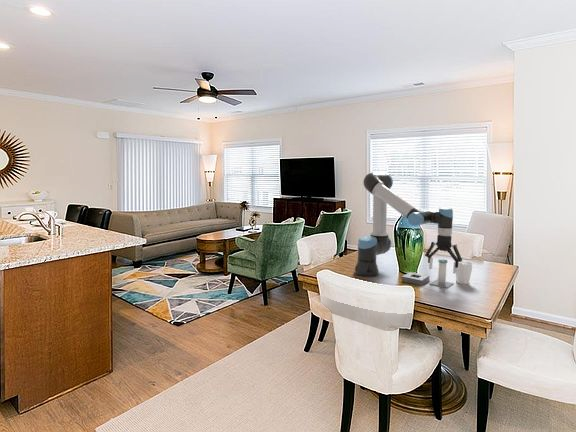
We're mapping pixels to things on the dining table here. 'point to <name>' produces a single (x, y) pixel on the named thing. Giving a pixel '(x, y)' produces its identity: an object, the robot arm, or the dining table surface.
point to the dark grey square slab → (415, 278)
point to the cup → (463, 272)
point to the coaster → (446, 285)
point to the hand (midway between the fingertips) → (442, 270)
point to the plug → (442, 271)
